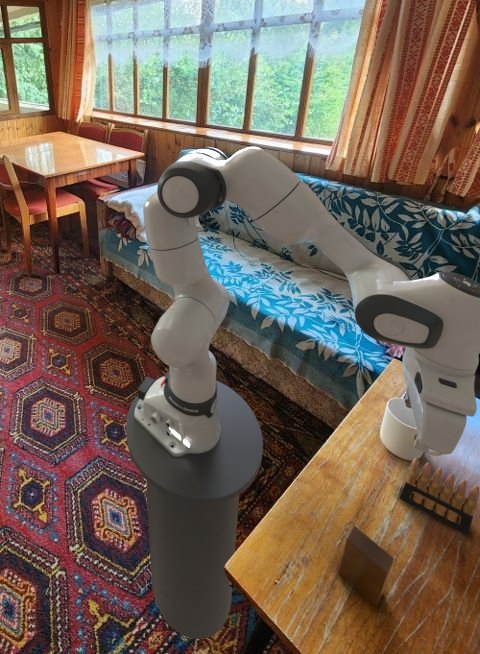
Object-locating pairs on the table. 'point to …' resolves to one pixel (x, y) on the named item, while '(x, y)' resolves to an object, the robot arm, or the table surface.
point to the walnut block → (365, 565)
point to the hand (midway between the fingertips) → (414, 425)
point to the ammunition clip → (440, 496)
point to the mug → (400, 430)
